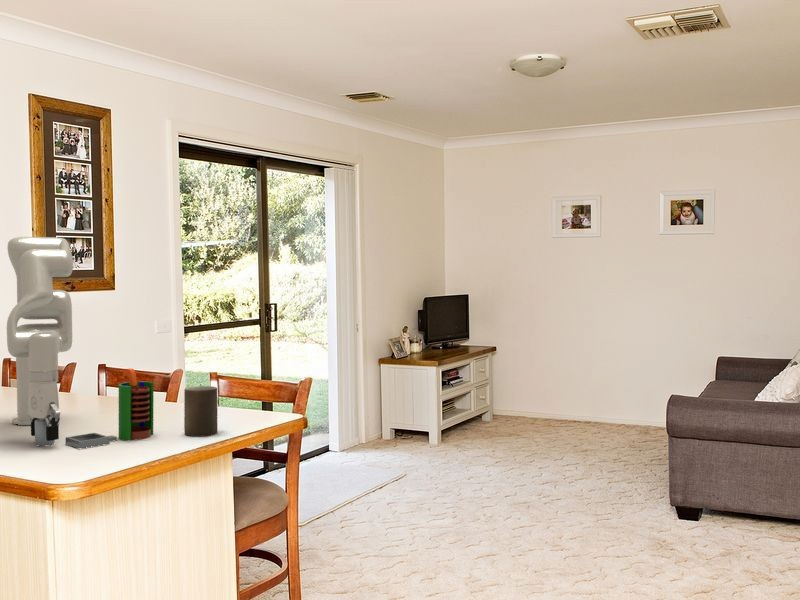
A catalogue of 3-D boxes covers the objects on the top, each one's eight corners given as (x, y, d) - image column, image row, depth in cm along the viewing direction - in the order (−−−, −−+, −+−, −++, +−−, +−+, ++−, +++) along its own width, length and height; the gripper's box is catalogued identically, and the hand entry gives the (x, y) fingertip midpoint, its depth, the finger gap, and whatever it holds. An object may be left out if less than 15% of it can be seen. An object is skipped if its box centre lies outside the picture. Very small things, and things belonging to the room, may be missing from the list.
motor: (139, 441, 227) (138, 371, 226) (111, 439, 229) (110, 370, 228) (157, 434, 237) (156, 367, 236) (130, 432, 239) (129, 366, 238)
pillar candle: (209, 437, 232) (209, 386, 232) (178, 435, 234) (178, 385, 233) (222, 431, 242) (222, 382, 241) (192, 429, 243) (192, 381, 243)
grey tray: (65, 444, 223) (65, 437, 223) (106, 437, 232) (106, 430, 232) (80, 449, 217) (79, 441, 217) (121, 441, 226) (121, 434, 226)
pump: (32, 444, 223) (31, 413, 222) (49, 441, 227) (49, 410, 226) (39, 447, 219) (39, 415, 219) (57, 444, 223) (57, 413, 223)
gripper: (16, 375, 225) (18, 435, 226) (43, 381, 214) (45, 444, 214) (43, 373, 231) (44, 431, 231) (71, 378, 219) (72, 439, 220)
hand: (44, 437), depth 223 cm, fingers open, 9 cm apart
